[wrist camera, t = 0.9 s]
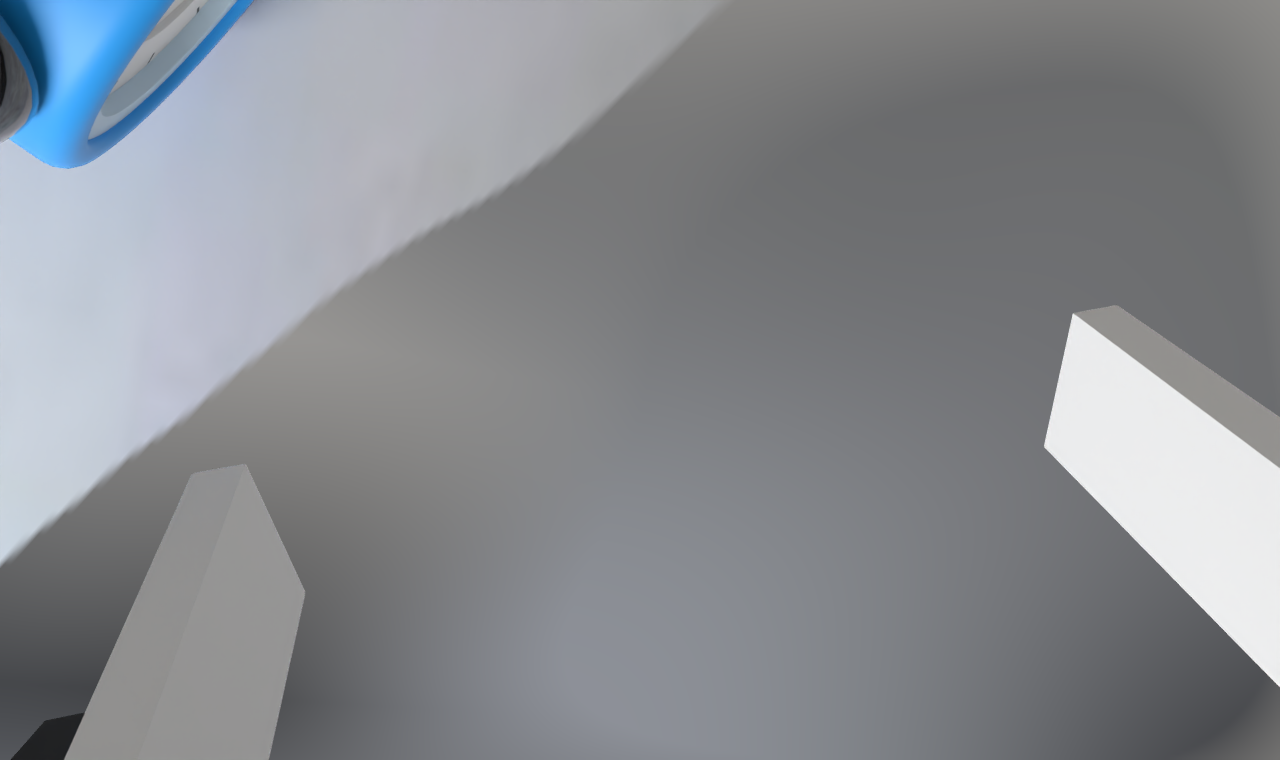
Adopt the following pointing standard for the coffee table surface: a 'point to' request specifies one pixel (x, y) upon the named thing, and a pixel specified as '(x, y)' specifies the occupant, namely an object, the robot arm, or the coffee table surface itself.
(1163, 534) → the robot arm
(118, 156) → the coffee table surface
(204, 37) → the alarm clock
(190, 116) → the coffee table surface
